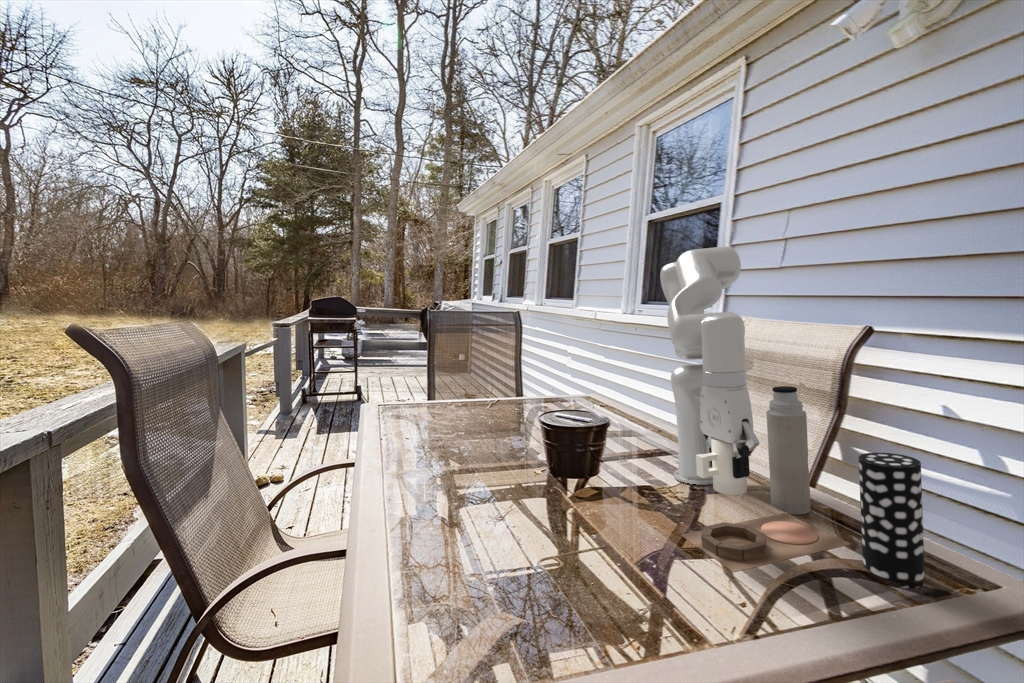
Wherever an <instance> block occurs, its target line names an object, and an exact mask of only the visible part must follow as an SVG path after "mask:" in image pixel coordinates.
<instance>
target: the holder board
mask: <svg viewBox="0 0 1024 683" xmlns="http://www.w3.org/2000/svg"><path fill="white" fill-rule="evenodd" d="M680 536H681V537H683V538H684V539H685V540H687V541H688V542H690V543H691V544H693V545H694V546H695V547H697V548H698V549H700V550H701V551H702V552H704V553H705V554H707V555H708V556H710V558H712V559H714V560H715V561H717V562H719V564H721V566H724V567H725V568H727V569H728V570H730V571H731V572H733V573H737V572H742V571H745V570H750V569H753V568H757V567H761V566H766V565H769V564H774V563H779V562H784V561H787V560H791V559H795V558H799V557H802V556H803V557H804V556H809V555H812V554H816V553H821V552H824V551H829V550H833V549H837V548H840V547H846V546H850V545H851V543H850V542H848V541H846V540H845V539H841V538H839V537H837V536H835V535H833V534H830V533H828V532H827V531H824V530H822V529H820V528H818V527H815V526H813V525H812V524H809V523H807V522H805V521H803V520H800V519H798V518H796V517H794V516H792V515H791V514H788V513H786V512H782V513H778V514H773V515H768V516H763V517H757V518H753V519H749V520H744V521H739V522H735V523H732V522H719V523H715V524H709V525H705V526H704V528H703V529H701V530H696V531H691V532H687V533H681V534H680Z"/></svg>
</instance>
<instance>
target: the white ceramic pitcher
mask: <svg viewBox="0 0 1024 683" xmlns="http://www.w3.org/2000/svg"><path fill="white" fill-rule="evenodd" d="M739 440H741V438H739ZM738 446H739V449H741V447H742V443H738ZM711 451H712V453H707V454H698V455H696V469H697V476H699V477H701V478H709V477H710V476H713V484H712V486H713V487H712V488H713V490H714V491H715V492H716V493H718V494H722V495H728V496H739V495H740V496H741V495H743V494H746V493H747V492H748V480H747V479H748V477H743V478H738V479H736V478H734V477H733V463H732V457H735V455H734V452H733V448H732V445H731V443H727V442H724V441H721V440H718V439H715V438H713V437H711ZM708 461H712V468H709V469H708Z"/></svg>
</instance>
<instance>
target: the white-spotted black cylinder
mask: <svg viewBox="0 0 1024 683" xmlns="http://www.w3.org/2000/svg"><path fill="white" fill-rule="evenodd" d="M858 472H859V473H858V479H859V498H860V499H859V500H860V502H859V503H860V522H861V523H860V525H861V530H860V531H861V552H862V553H861V554H862V565H863V567H864V568H865V569H866V570H867V571H868V572H869V573H872V574H874V575H875V576H878V577H881V578H884V579H888V580H891V581H894V582H895V581H897V582H902V583H903V582H904V583H905V582H906V583H911V584H908V585H904V586H900V587H899V589H906V588H907V589H909V588H910V589H911V588H912V589H917V588H918V589H919V588H921V587H923V586H924V585H925V582H926V581H925V580H924V578H925V575H926V574H925V548H924V547H925V546H924V520H923V518H924V517H923V494H922V493H923V492H922V491H923V490H922V489H923V487H922V486H923V485H922V462H921V461H920V460H919V459H918V458H914V457H913V456H912V457H911V456H908V455H904V454H900V453H899V454H898V453H893V452H892V453H891V452H866V453H862V454H860V455H858ZM921 580H922V581H921ZM913 582H915V583H913ZM907 589H906V590H907ZM910 589H909V590H910Z"/></svg>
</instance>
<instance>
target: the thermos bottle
mask: <svg viewBox="0 0 1024 683" xmlns="http://www.w3.org/2000/svg"><path fill="white" fill-rule="evenodd" d="M772 391H773V394H772V396H773V397H772V399H771V400H770V401H769V406H768V408H769V409H768V410H766V427H767V428H766V429H767V430H766V431H767V449H768V450H767V451H768V465H769V489H770V492H769V493H770V506H771V507H772V508H775V509H777V510H779V511H780V512H781V511H782V513H786V514H788V515H805V514H808V513H810V512H811V510H812V508H811V486H810V470H809V444H808V441H809V440H808V423H807V422H808V420H807V417H808V416H807V412H806V411H805V410H803V407H804V404H803V401H801V400H799V398H798V393H797V392H798V388H797V387H796V386H787V385H784V386H774V387H772Z"/></svg>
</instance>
